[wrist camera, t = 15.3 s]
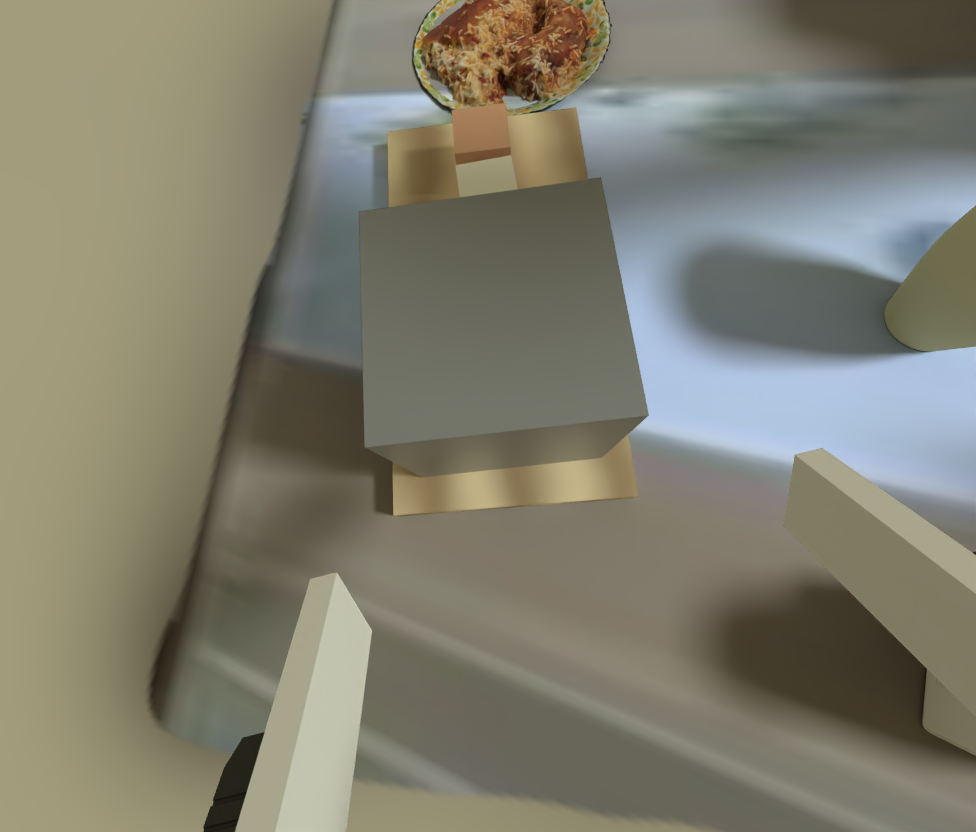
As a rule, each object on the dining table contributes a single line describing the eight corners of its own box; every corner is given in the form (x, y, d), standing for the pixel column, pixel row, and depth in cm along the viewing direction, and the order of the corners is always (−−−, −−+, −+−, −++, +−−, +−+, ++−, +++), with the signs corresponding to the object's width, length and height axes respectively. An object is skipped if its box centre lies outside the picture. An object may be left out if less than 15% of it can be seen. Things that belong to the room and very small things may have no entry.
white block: (512, 197, 34) (511, 155, 30) (520, 240, 33) (520, 202, 29) (462, 206, 34) (455, 165, 31) (469, 249, 33) (462, 212, 30)
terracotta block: (507, 149, 36) (505, 102, 32) (511, 189, 34) (510, 146, 31) (459, 155, 36) (451, 110, 32) (462, 195, 35) (454, 154, 31)
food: (436, 149, 39) (428, 118, 36) (400, 18, 44) (391, -19, 41) (634, 93, 38) (642, 57, 35) (575, -33, 43) (578, -74, 40)
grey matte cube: (574, 296, 32) (600, 177, 21) (601, 458, 29) (648, 415, 18) (413, 316, 32) (358, 211, 22) (422, 477, 29) (364, 447, 18)
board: (574, 123, 38) (576, 107, 36) (632, 497, 29) (638, 496, 28) (392, 146, 38) (387, 131, 37) (399, 515, 30) (393, 515, 29)
